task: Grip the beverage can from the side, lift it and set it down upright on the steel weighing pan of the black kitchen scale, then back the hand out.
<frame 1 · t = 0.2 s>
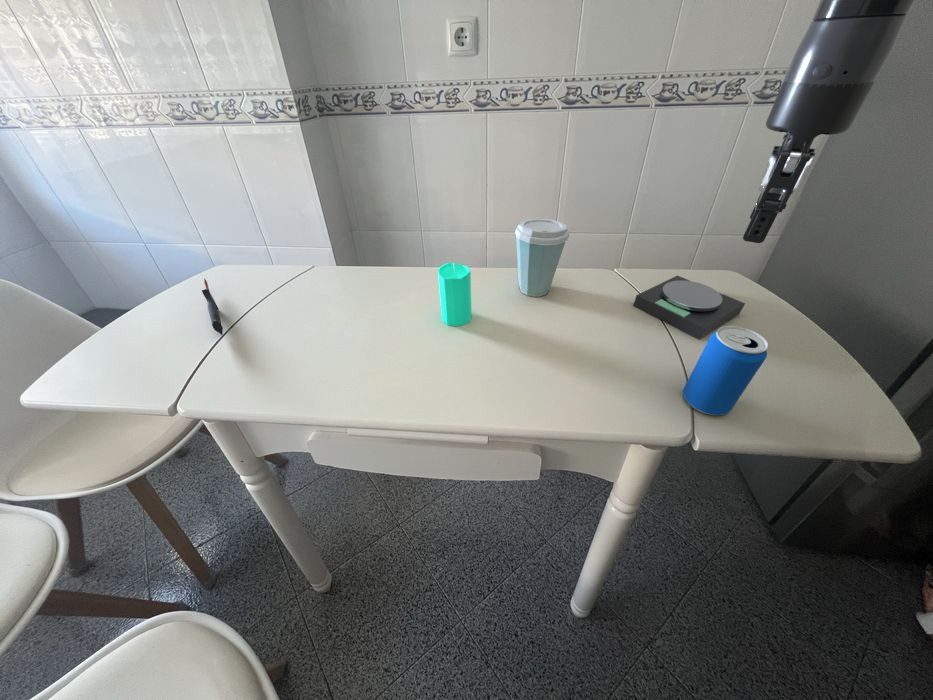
hand: (755, 230, 48), 22 cm above the table, tool pointing down, fingers open, 8 cm apart
beverage can: (704, 402, 54), on the table
scale: (685, 309, 73), on the table
disposable coffee cup: (535, 290, 81), on the table
candle: (456, 318, 73), on the table
knife: (216, 311, 77), on the table
scale pan: (691, 295, 71), point 3 cm above the table, slide at 0.0 cm
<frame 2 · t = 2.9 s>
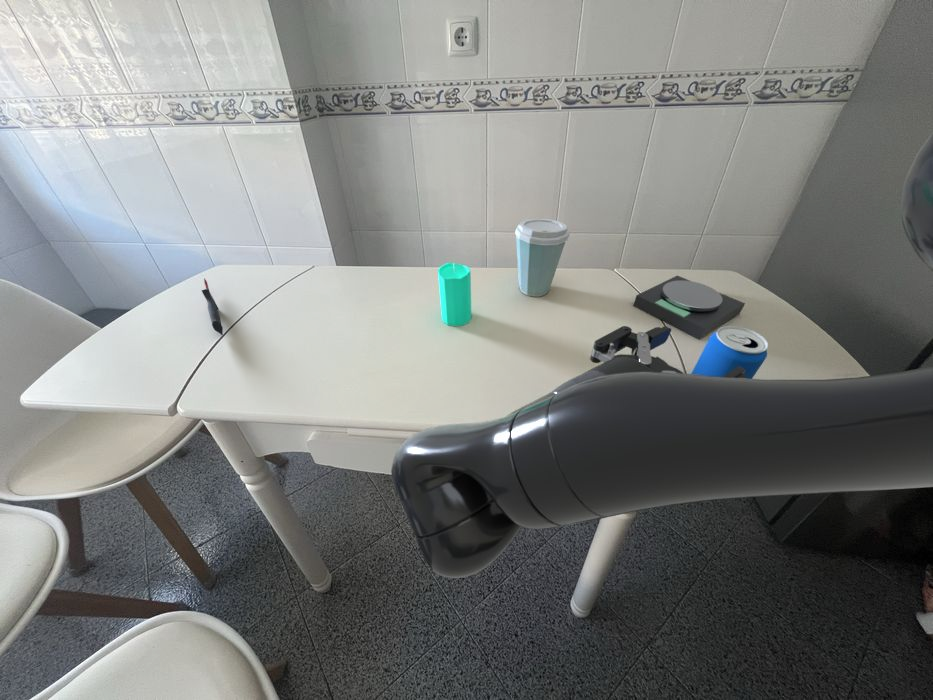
hand: (700, 352, 41), 14 cm above the table, tool horizontal, fingers open, 8 cm apart
nothing on the table moved.
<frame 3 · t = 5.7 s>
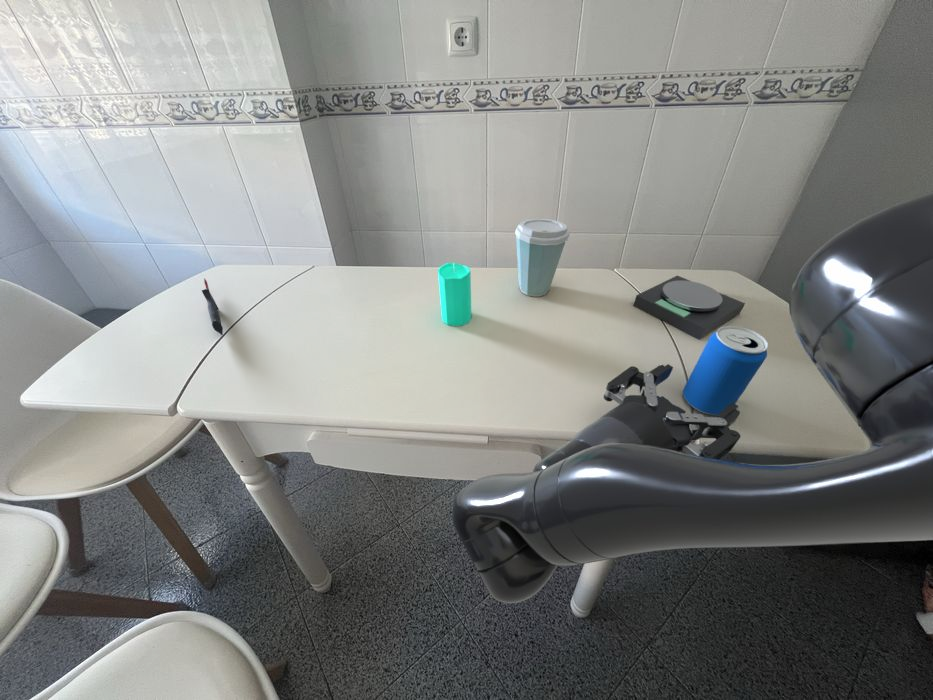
hand: (698, 388, 47), 7 cm above the table, tool horizontal, fingers open, 8 cm apart
nothing on the table moved.
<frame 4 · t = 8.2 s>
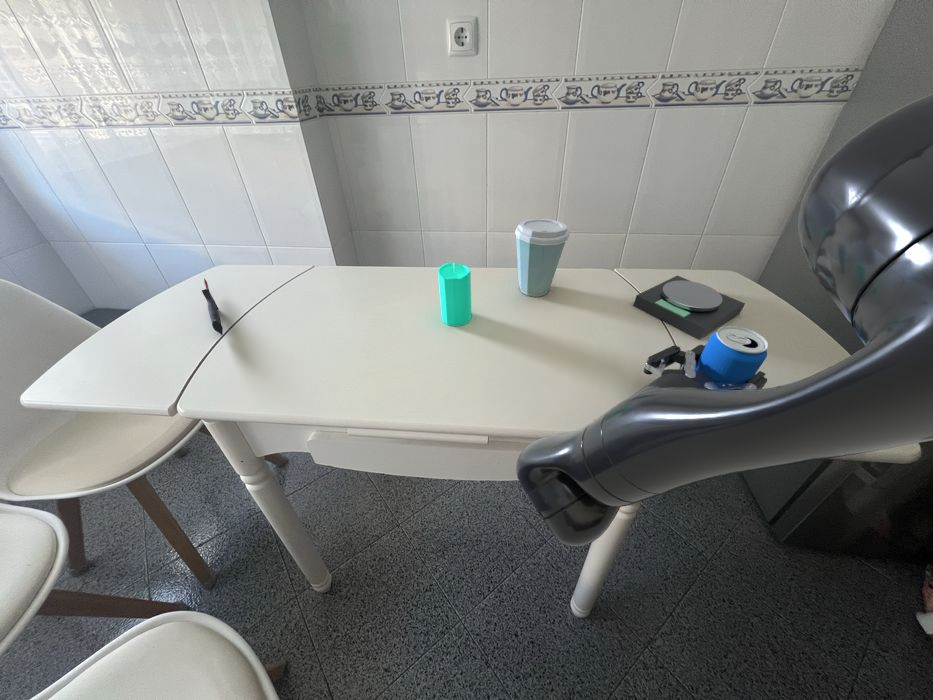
hand: (732, 362, 51), 7 cm above the table, tool horizontal, fingers closed on beverage can, 6 cm apart
beverage can: (704, 402, 54), on the table, touching gripper
everything else where it was.
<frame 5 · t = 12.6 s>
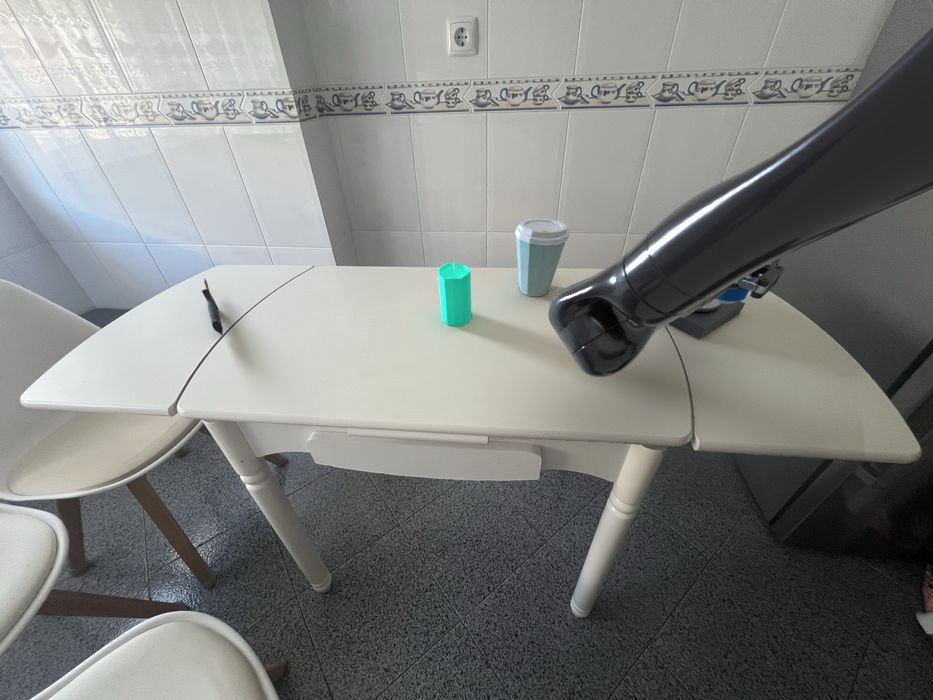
hand: (746, 251, 53), 18 cm above the table, tool horizontal, fingers closed on beverage can, 6 cm apart
beverage can: (718, 296, 56), point 11 cm above the table, touching gripper
everything else where it was.
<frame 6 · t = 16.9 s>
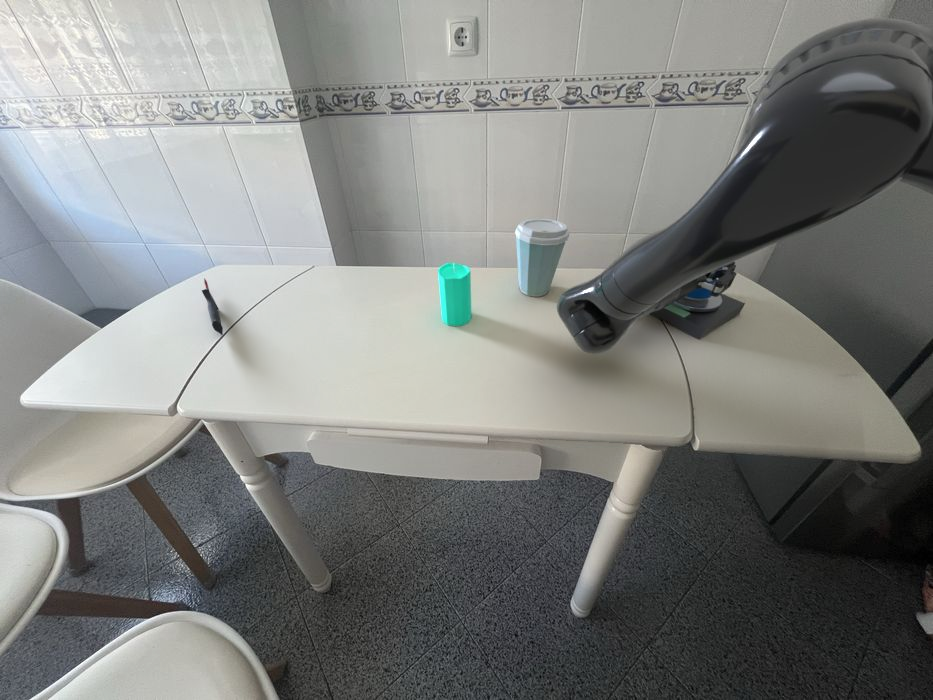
hand: (711, 259, 67), 10 cm above the table, tool horizontal, fingers closed on beverage can, 6 cm apart
beverage can: (691, 294, 71), point 3 cm above the table, touching gripper, scale pan
scale pan: (691, 295, 71), point 3 cm above the table, slide at -0.1 cm, touching beverage can
everything else where it was.
when the fingers open (10 cm above the table, at t = 17.1 s): beverage can stays where it is, resting on scale pan.
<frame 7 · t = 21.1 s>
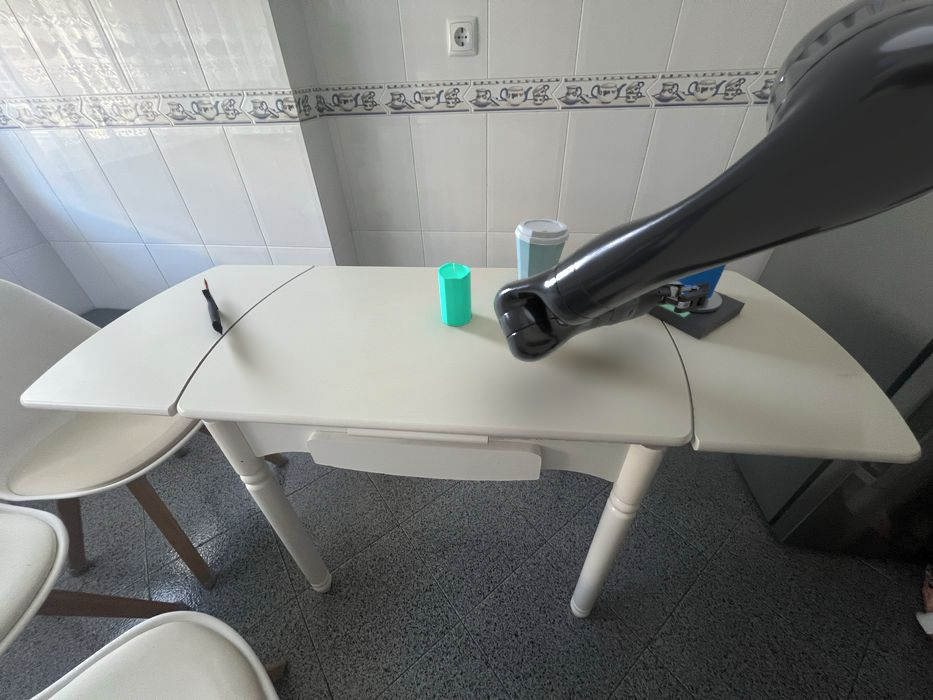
hand: (680, 280, 61), 11 cm above the table, tool horizontal, fingers open, 8 cm apart
beverage can: (690, 295, 71), point 3 cm above the table, touching scale pan
scale pan: (690, 296, 71), point 3 cm above the table, slide at -0.3 cm, touching beverage can, scale
everything else where it was.
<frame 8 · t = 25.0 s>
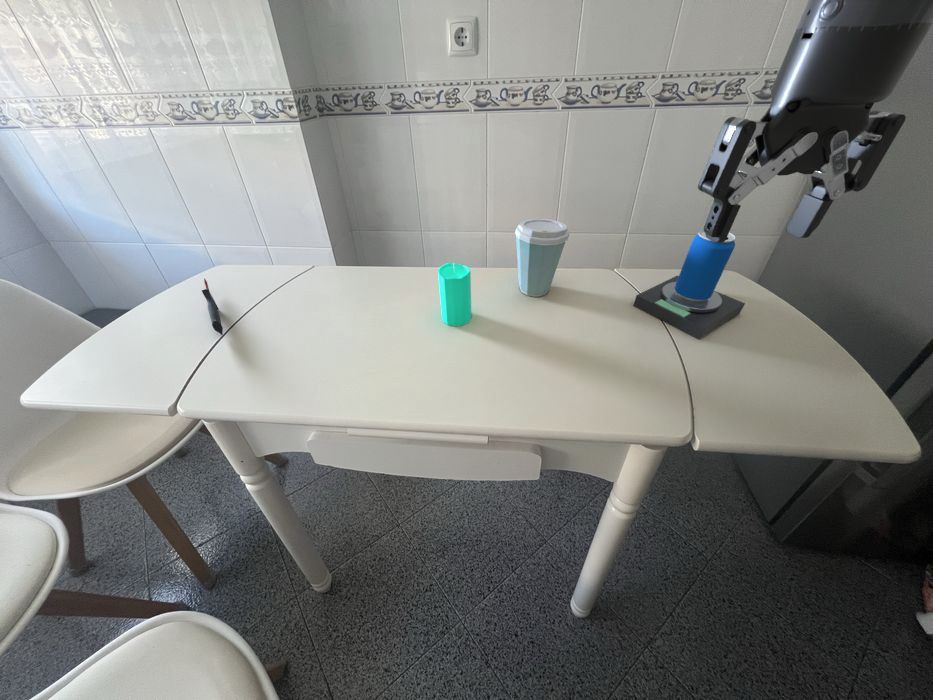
hand: (754, 237, 37), 26 cm above the table, tool pointing down, fingers open, 8 cm apart
nothing on the table moved.
at the end: beverage can 0.1 cm off-centre on the scale, point 3.4 cm above the scale's base; beverage can tilted 0°; the gripper is holding nothing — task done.
